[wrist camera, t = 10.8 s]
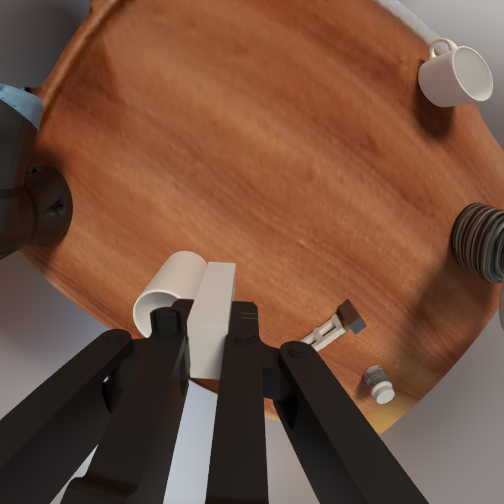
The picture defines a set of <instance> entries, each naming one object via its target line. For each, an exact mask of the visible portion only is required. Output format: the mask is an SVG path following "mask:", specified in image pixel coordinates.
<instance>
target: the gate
mask: <svg viewBox="0 0 504 504" xmlns="http://www.w3.org/2000/svg"><path fill="white" fill-rule="evenodd" d="M334 326H336V328H335V329H334V330H332V331H331V332H329V333H328V334H327V335H325V336H324V337H323V336H322V335H323V334H325V333H326V332H327V331H329V330H330V329H332V328H333V327H334ZM345 332H346V330H345V328H344V326H343V324H342V322H341V321H340V319H339V317H338V316H337V315H336V314H334V315H333V316H332V318H331V319H330V320H329V321H327V322H326V323H324V324H323V325H322V326H320V327H319V328H318V327H317V328H315V329H314V330H313V332H312V333H311V334H309V335H308V336H306V337H305V338H303V339H302V340H301V342H305V343H307V344H310V343H312V342H313V341H315V340H316V341H317V342H315V343H314V344H312V345H311V346H312V347H313V348H314V349H315V350H316V351H319V350H320V349H322V348H324V347H325V346H326V345H327V344H329V343H330V342H332V341H333V340H334V339H336V338H337V337H339V336H340V335H342V334H343V333H345ZM298 341H299V340H298Z"/></svg>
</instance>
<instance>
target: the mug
mask: <svg viewBox="0 0 504 504" xmlns="http://www.w3.org/2000/svg"><path fill="white" fill-rule="evenodd" d="M440 42H445V43H447V44H448V47H449V50H450V51H449V52H446V53H444V54H441V55H439V56H436V55H435V54H434V47H435V45H436V44H438V43H440ZM429 55H430V57H429V61H426V62H425V63H423V64H422V65H421V67H420V69H419V72H418V81H419V85H420V88H421V90H422V92H423V94H424V95H425V96H426V98H427V99H428V100H429V101H430V102H431V103H433V104H435V105H436V106H439V107H452V106H458V105H464V104H470V103H477V102H484V101H486V100H488V99H489V98H490V97H491V95H492V92H493V80H492V75H491V72H490V69H489V67H488V65H487V63H486V62H485V61H484V59H483V58H482V57H481V56H480V55H479V54H478V53H477V52H476V51H474V50H473V49H472V48H469V47H466V46H461V47H457V46H456V44H454V43H453V42H451V41H450V40H448V39H445V38H439V39H437V40H435V41H433V42H432V43H431V45H430V47H429Z"/></svg>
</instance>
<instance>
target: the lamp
mask: <svg viewBox="0 0 504 504" xmlns="http://www.w3.org/2000/svg"><path fill="white" fill-rule="evenodd" d="M451 249H452V253H453V256H454V258H455V260H456V261H457V262H458V264H460V265H461V266H462V267H464V268H465V269H467V270H468V271H470V272H471V273H473V274H475V275H476V276H478V277H479V278H481V279H482V280H484V281H486V282H489V283H500V282H502V285H501V291H500V300H499V317H500V322H501V326H502V328H503V330H504V210H502V209H499V208H495V207H492V206H489V205H485V204H482V203H472V204H470V205H468V206H467V207H466V208H465V209H463V211H462V212H461V213H460V214H459V216H458V217H457V219H456V221H455V224H454V227H453V230H452V235H451Z"/></svg>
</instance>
